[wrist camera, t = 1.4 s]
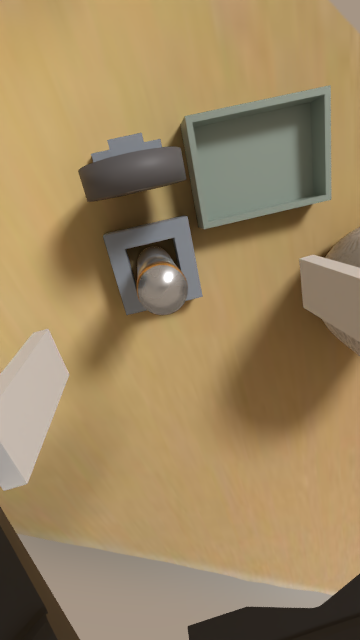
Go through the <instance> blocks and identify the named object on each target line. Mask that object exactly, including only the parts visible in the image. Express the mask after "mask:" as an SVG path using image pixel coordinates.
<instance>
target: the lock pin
mask: <svg viewBox="0 0 360 640" xmlns="http://www.w3.org/2000/svg"><path fill="white" fill-rule="evenodd" d="M137 277H138V279H137V296H138V299H139V301H140V302H141V304H142V305H143V306H144V308H145V309H147V310H148V311H150V312H151V313H154V314H157V315H168V314H171V313H174V312H175V311H177V310H178V309H180V308H181V307H182V305H183V304H184V303H185V301H186V298H187V295H188V284H187V280H186V278H185V276H184V274H183V273H182V272H181V270H180V269H179V268H178V267H177V266H176V265H175V263H174V262H173V260H172V259H171V257H170V256H169V254H168V253H167V252H166V251H165V250H164V249H162V248H160V247H156V246H152V247H148V248H146V249H144V250H143V251H142V252H141V253H140V255H139V257H138V260H137Z"/></svg>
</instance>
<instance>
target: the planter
mask: <svg viewBox="0 0 360 640" xmlns="http://www.w3.org/2000/svg"><path fill="white" fill-rule="evenodd" d="M325 258H327V259H330V260H334V261H338V262H341V263H345V264H348V265H352V266H355V267H359V268H360V227H359V228H357V229H355V230H353V231H352V232H350V233H348V234H347V235H346V236H344V237H343V238H342V239H340V240H339V241H338V242H337V243H336V244H335V245H334V246H333V247H332V249H331V250H330V251H329V252H328V254H327V255H326V257H325ZM322 320H323V319H322ZM323 322H324V323H325V325H326V326H327V328H328V329H329V330H330V331H331V332H332V333H333V334H334V335H335V336H336V337H337V338H338V339H339V340H340V341H341V342H343V343H344V344H345V345H346V346H348V347H349V348H350V349H351V350H353V351H354V352H355V353H356V354H358V355H359V356H360V342H359V341H357V340H356V339H354V338H352V337H351V336H349V335H347V334H346V333H344V332H343V331H341V330H339V329H338V328H336V327H334V326H333V325H331V324H329V323H328V322H326V321H324V320H323Z"/></svg>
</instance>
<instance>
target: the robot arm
mask: <svg viewBox="0 0 360 640" xmlns="http://www.w3.org/2000/svg"><path fill="white" fill-rule="evenodd" d="M299 262H300V274H301V286H302V298H303V308H305V309H306V310H308V311H310V312H311V313H313V314H315V315H316V316H318V317H320V318H321V319H323V320H324V321H326V322H328V323H329V324H331V325H333V326H334V327H336V328H338V329H339V330H341V331H343V332H344V333H346V334H347V335H349V336H351V337H352V338H354V339H356V340H357V341H359V342H360V268H359V267H355V266H352V265H348V264H345V263H341V262H338V261H334V260H330V259H327V258H323V257H320V256H316V255H311V256H307V257H303V258H300V259H299ZM68 377H69V372H68V370H67V368H66V366H65V364H64V362H63V360H62V357H61V355H60V353H59V351H58V349H57V347H56V344H55V342H54V340H53V338H52V336H51V334H50V331H49V329H45V330H42V331H38V332H34V333H32V335H31V336H30V337H29V339H28V340H27V341H26V342H25V344H24V345H23V346H22V347H21V349H20V350H19V351H18V352H17V354H16V355H15V356H14V357H13V359H12V360H11V361H10V362H9V364H8V365H7V366H6V367H5V369H4V370H3V371H2V373H1V374H0V486H1V488H2V489H3V490H4V491H5V490H9V489H12V488H15V487H19V486H22V485H25V484H27V483H28V481H29V478H30V476H31V473H32V470H33V468H34V465H35V463H36V460H37V457H38V455H39V452H40V450H41V447H42V444H43V442H44V439H45V437H46V434H47V431H48V429H49V426H50V424H51V421H52V418H53V416H54V413H55V411H56V408H57V405H58V403H59V400H60V398H61V395H62V392H63V390H64V387H65V385H66V382H67V379H68ZM188 634H189V640H360V574H359V575H358V576H356V577H355V578H354V579H353V580H351V581H350V582H349V583H348V584H347V585H345V586H344V587H343V588H342V589H341V590H339V591H338V592H337V593H336V594H335V595H333V596H332V597H331V598H330V599H329V600H327V601H326V602H325V603H324V604H322V605H321V606H319V607H316V608H275V607H245V608H242V609H239V610H236V611H233V612H229V613H226V614H223V615H220V616H217V617H214V618H211V619H208V620H205V621H202V622H199V623H196V624H193V625H190V626H188ZM0 640H80V639H79V637H78V636H77V634H76V632H75V631H74V629H73V627H72V626H71V624H70V622H69V621H68V619H67V617H66V616H65V614H64V612H63V611H62V609H61V607H60V606H59V604H58V602H57V601H56V599H55V598H54V596H53V594H52V592H51V590H50V589H49V587H48V586H47V584H46V582H45V580H44V579H43V577H42V575H41V574H40V572H39V571H38V569H37V567H36V565H35V564H34V562H33V560H32V559H31V557H30V556H29V554H28V552H27V551H26V549H25V547H24V546H23V544H22V542H21V540H20V539H19V537H18V535H17V534H16V532H15V530H14V529H13V527H12V525H11V524H10V522H9V520H8V519H7V517H6V515H5V514H4V512H3V510H2V509H1V507H0Z"/></svg>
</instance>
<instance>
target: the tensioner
mask: <svg viewBox="0 0 360 640" xmlns="http://www.w3.org/2000/svg"><path fill="white" fill-rule="evenodd" d="M107 141H108V144H109V148H110V150H107V151H102V152H98V153H93V154H91V155H92V159H93V163H91V164H88V165H86V166H84V167H82V168H80V169H79V170H78V172H79V175H80V179H81V182H82V185H83V188H84V192H85V195H86V198H87V201H88V202H91V201H98V200H104V199H109V198H114V197H119V196H124V195H129V194H133V193H138V192H142V191H146V190H151V189H155V188H159V187H163V186H167V185H171V184H174V183H178V182H181V181H184V180H186V174H185V169H184V163H183V158H182V152H181V148H179V147H162V145H161V140H160V139H158V140H153V141H149V142H144V141H143V137H142V133H138V134H134V135H129V136H124V137H119V138H115V139H110V140H107ZM103 238H104V241H105V245H106V248H107V251H108V255H109V258H110V261H111V265H112V268H113V271H114V275H115V278H116V281H117V285H118V288H119V291H120V295H121V298H122V301H123V305H124V308H125V311H126V315H130V314H134V313H138V312H142V311H146V310H147V309H145V308H144V306H143V305H142V304H141V302H140V301H139V299H138V296H137V286H136V282H135V279H134V275H133V272H132V268H131V264H130V261H129V257H128V253H127V250H126V249H128V248H132V247H136V246H141V245H145V244H149V243H153V242H158V241H162V240H166V239H171V238H172V239H173V244H174V248H175V253H176V258H177V262H178V267H179V269H180V270H181V272H182V273H183V274H184V276H185V278H186V280H187V284H188V295H187V298H186V301H187V300H191V299H195V298H199V297H203V296H202V291H201V286H200V280H199V275H198V270H197V264H196V259H195V254H194V248H193V243H192V238H191V232H190V227H189V222H188V216H180V217H175V218H171V219H167V220H162V221H158V222H154V223H149V224H145V225H141V226H136V227H132V228H128V229H123V230H119V231H115V232H110V233H106V234H104V235H103Z"/></svg>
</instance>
